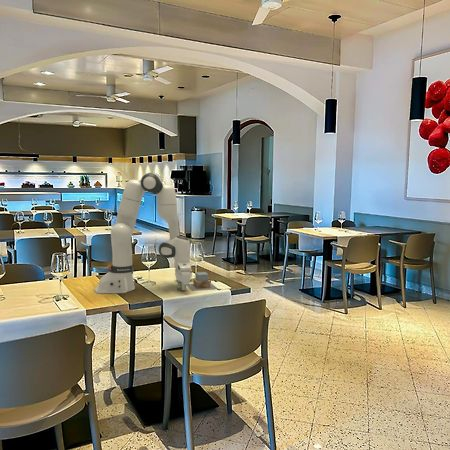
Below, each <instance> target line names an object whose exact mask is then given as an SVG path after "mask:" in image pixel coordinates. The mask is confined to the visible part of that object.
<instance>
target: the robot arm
mask: <svg viewBox="0 0 450 450" xmlns="http://www.w3.org/2000/svg"><path fill="white" fill-rule="evenodd" d="M145 193H150V194H153V195H155V196H156V201H157V202H156V206H157V207H156V208H157V214H158V217H159V218H160V219H162V221H163V220H164V222H166V224H167V226H168V232H169V239H168V240H166V241H164V242H162V243H160V244H159V246H158V253H159V254H158V255H160V256H161V258H164V259H172V258H173V259H174V265H173V267H174V274H175V275H174V276H175V279H176V278H177V279H178V281H177V283H178V282H181V283H182V286H181V289H182V290H185V286H186V284H190V282H191V280H190V270H191V269H192V266H191V258H190V254H191V244H190V243H191V242H190V239H189V238H188V237H186V236H184V235H181V230H180V221H179V215H178V202H177V194H176V190H175V187H174V186H173V185H170V184H164V183H163V179H162V177H161V176H160V174H158V173H156V172H147V173H145V174H144V175H143V176H142V177H141V178H140V180H137V179H131V180H128V182H126V185H125V187H124V190H123V192H122V195H121V199H120V202H119V205H118V210H117V215H116V218H115V219H116V220H115V224H114V225H113V226H112V227H111V229H110V241H111V251H112V255H111V256H112V262H111V263H112V264H108V265H107V268H108V272H107V273H106V274H104V275H102V277H100V279H99V282H98V285H97V286H95V288H94V292H95V293H97V294H126V293H128V292H131V291H133V290H135V289H136V286H135V282H134V277H133V274H134V264H133V248H132V236H133V233H134V230H135V226H136V222H137V218H138V213H139V210H140V207H141V204H142V200H143V197H144V194H145ZM177 279H176V280H177ZM186 287H187V286H186Z"/></svg>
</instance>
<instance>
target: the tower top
mask: <svg viewBox="0 0 450 450" xmlns="http://www.w3.org/2000/svg"><path fill="white" fill-rule="evenodd" d="M194 279H196V280H197V281H198V282H199V281H208V280H209V274H208V272H206V271H200V272H198V271H197V272H195V278H194Z"/></svg>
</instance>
